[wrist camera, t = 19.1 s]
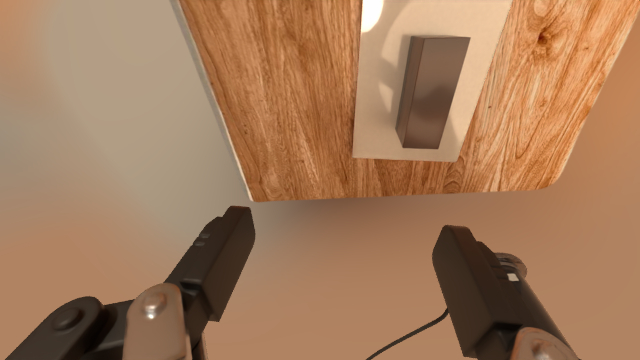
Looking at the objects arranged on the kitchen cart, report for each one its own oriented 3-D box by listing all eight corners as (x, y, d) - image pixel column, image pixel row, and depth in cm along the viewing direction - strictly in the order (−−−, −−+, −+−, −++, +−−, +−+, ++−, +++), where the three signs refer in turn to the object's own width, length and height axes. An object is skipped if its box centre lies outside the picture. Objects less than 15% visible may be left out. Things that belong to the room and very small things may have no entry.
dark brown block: (425, 130, 32) (438, 149, 27) (394, 129, 32) (402, 148, 27) (448, 35, 26) (471, 37, 21) (411, 35, 26) (424, 37, 21)
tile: (452, 157, 35) (456, 162, 34) (352, 153, 37) (351, 158, 35) (511, -16, 24) (519, -18, 23) (363, -11, 26) (363, -13, 24)
